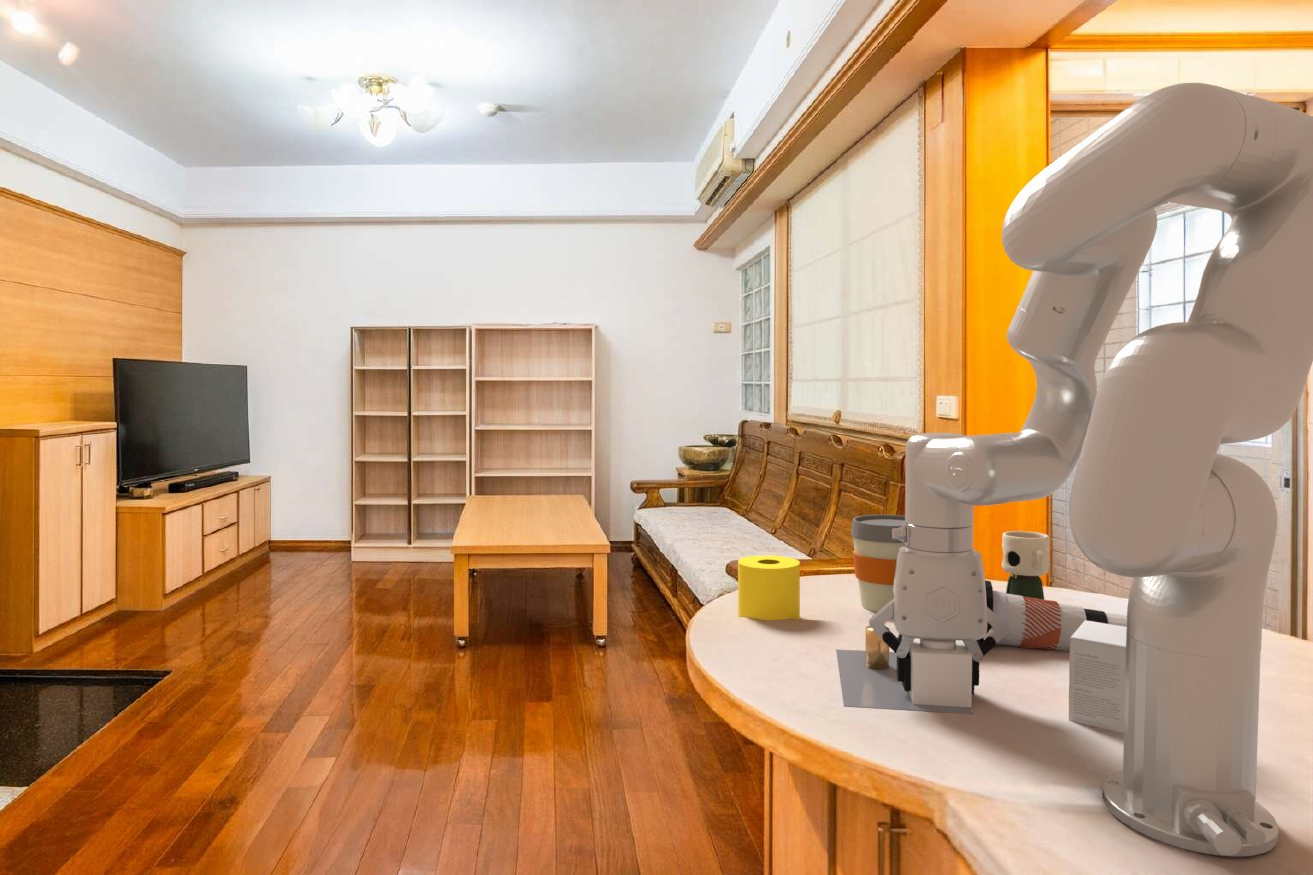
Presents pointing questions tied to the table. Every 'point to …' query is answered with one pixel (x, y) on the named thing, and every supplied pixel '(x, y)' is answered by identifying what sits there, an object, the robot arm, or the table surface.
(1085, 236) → the robot arm
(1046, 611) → the black and white bottle
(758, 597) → the yellow toilet paper roll
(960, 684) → the white push button box
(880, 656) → the brass cylinder
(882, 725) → the table surface
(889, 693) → the plate
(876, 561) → the reusable coffee cup
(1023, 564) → the character mug
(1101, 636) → the small box
